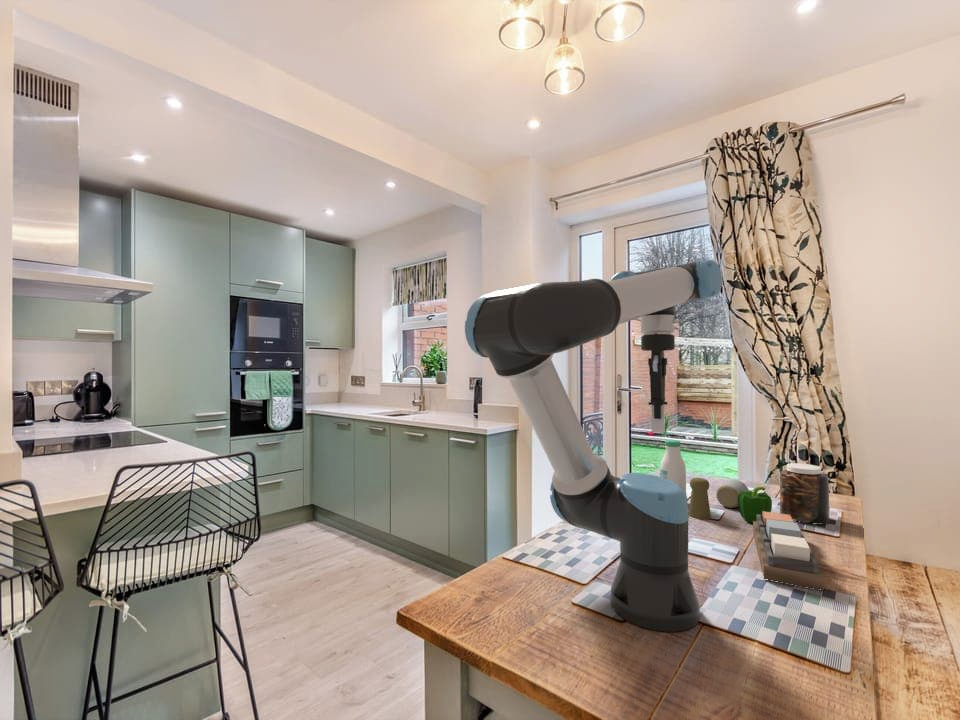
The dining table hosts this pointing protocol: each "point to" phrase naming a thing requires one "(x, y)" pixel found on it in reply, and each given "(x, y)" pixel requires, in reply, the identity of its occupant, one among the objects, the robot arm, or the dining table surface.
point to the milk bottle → (673, 464)
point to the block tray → (785, 562)
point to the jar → (804, 493)
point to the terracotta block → (775, 517)
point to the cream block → (790, 547)
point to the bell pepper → (753, 504)
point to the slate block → (782, 528)
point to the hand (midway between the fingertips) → (658, 431)
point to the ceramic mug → (730, 493)
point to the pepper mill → (699, 499)
